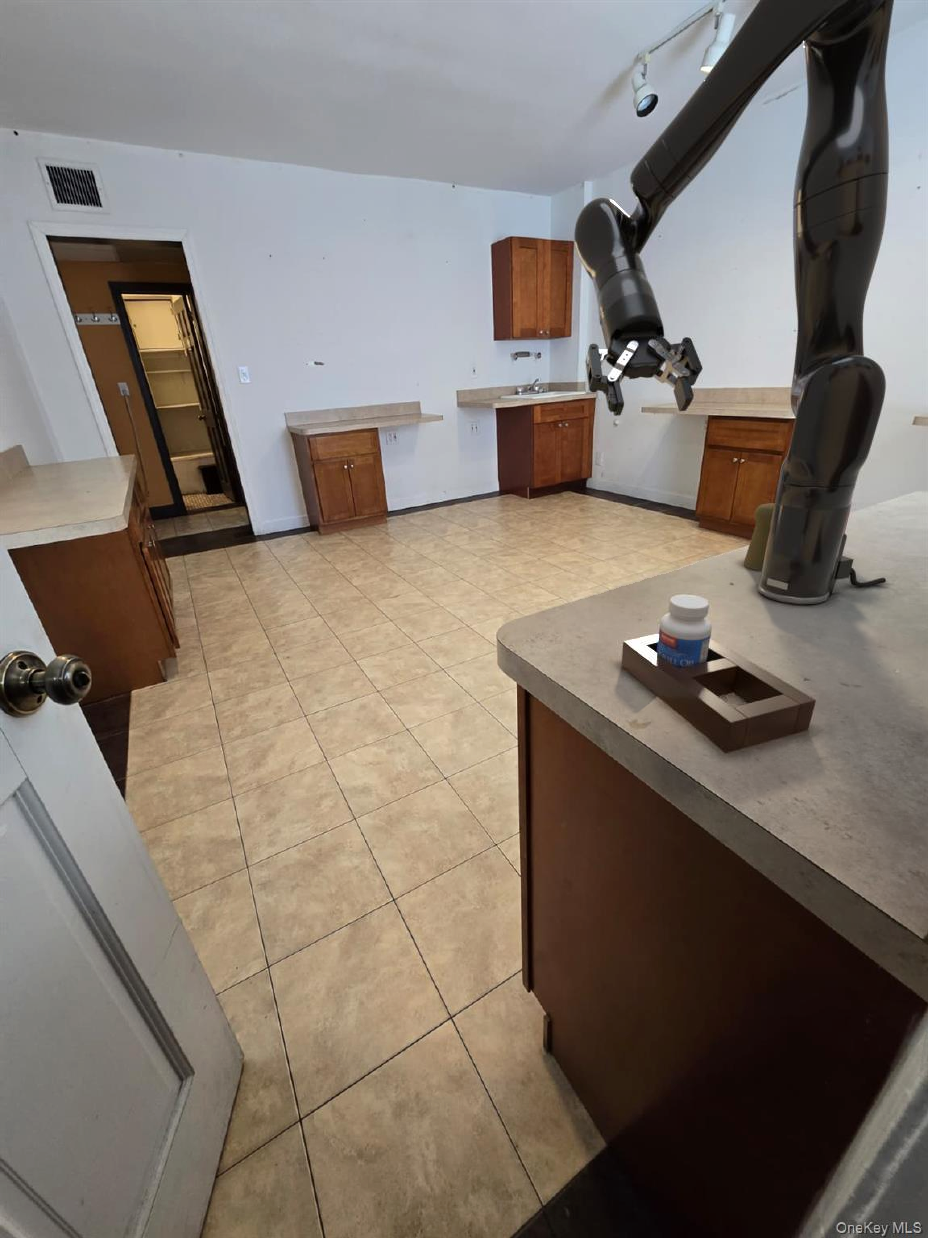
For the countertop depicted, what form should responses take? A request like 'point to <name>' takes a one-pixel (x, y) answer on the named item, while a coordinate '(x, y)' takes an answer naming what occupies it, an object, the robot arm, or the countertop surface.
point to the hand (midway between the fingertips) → (652, 408)
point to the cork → (759, 537)
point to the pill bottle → (685, 631)
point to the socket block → (724, 672)
